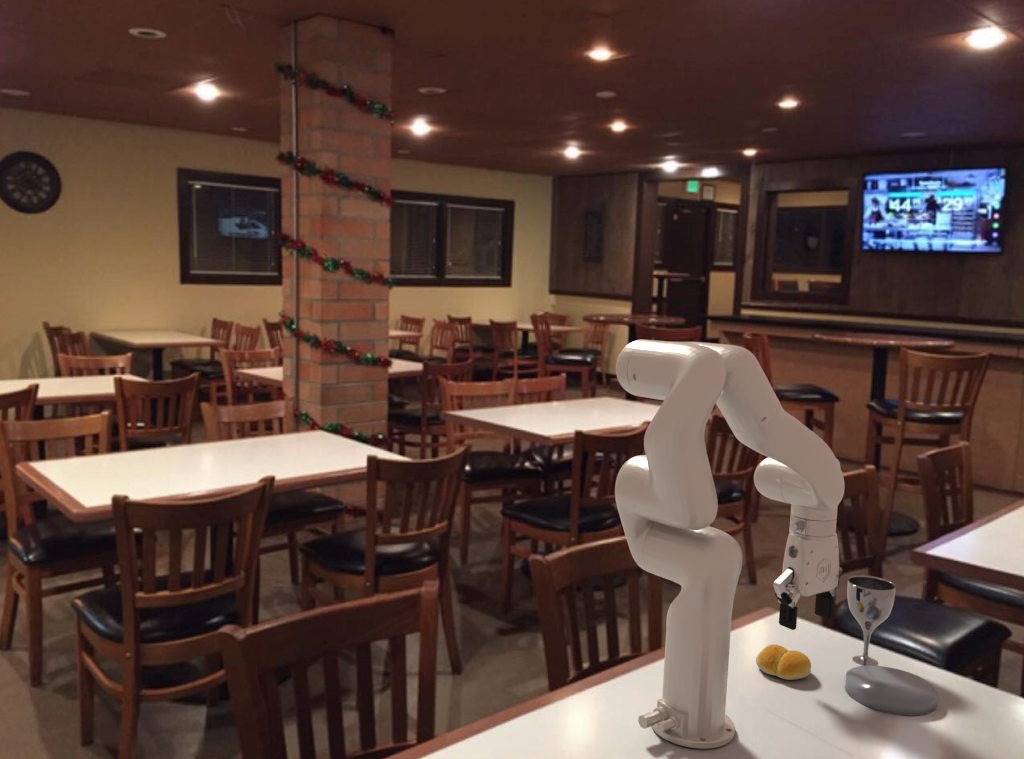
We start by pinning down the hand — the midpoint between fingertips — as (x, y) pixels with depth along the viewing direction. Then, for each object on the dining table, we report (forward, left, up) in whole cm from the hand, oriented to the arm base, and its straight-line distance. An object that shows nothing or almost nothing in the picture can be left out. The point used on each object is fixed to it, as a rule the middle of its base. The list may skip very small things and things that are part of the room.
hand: (805, 621), depth 152 cm
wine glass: (+14, -3, -10) cm, 17 cm away
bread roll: (0, 0, -10) cm, 10 cm away
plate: (+6, -13, -9) cm, 17 cm away
